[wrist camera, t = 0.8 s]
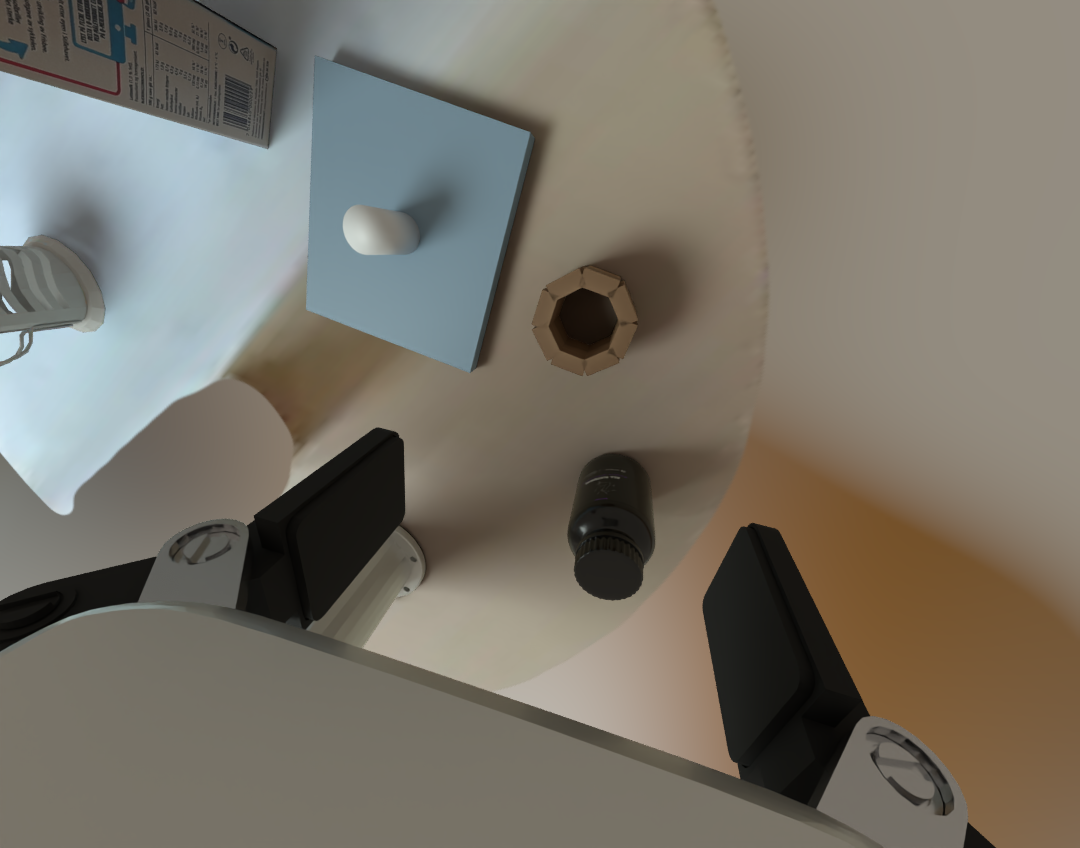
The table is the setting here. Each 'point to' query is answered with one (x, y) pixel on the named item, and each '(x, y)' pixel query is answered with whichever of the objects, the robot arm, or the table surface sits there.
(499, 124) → the post board
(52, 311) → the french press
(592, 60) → the table surface
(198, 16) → the juice carton
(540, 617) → the table surface
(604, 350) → the walnut ring
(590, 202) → the table surface
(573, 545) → the supplement bottle
